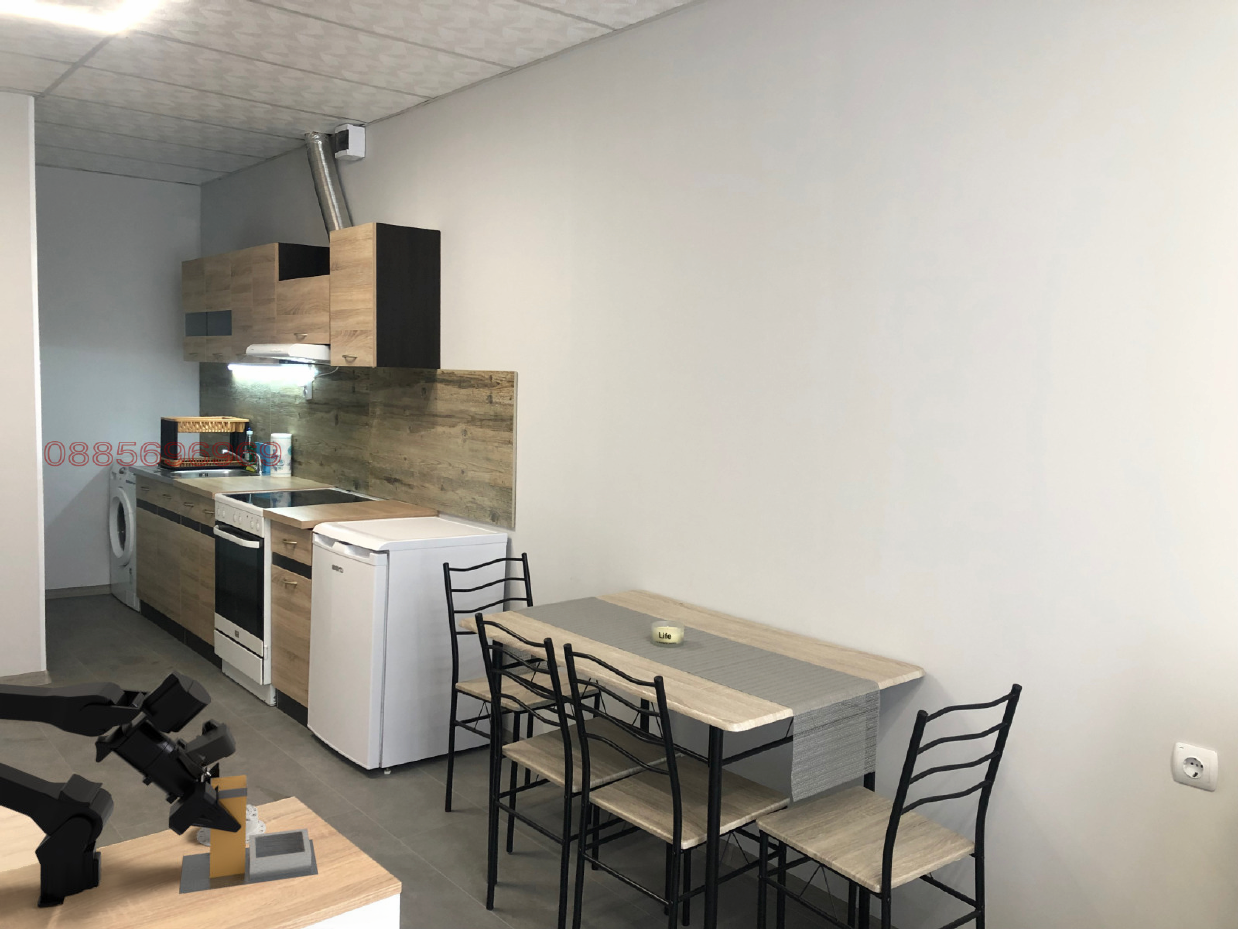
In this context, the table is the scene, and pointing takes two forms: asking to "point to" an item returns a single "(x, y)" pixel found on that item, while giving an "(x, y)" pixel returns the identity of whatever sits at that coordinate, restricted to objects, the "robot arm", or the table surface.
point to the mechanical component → (251, 826)
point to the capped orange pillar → (224, 844)
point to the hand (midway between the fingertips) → (238, 822)
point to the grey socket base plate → (256, 862)
